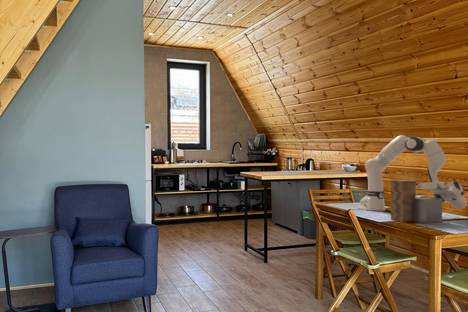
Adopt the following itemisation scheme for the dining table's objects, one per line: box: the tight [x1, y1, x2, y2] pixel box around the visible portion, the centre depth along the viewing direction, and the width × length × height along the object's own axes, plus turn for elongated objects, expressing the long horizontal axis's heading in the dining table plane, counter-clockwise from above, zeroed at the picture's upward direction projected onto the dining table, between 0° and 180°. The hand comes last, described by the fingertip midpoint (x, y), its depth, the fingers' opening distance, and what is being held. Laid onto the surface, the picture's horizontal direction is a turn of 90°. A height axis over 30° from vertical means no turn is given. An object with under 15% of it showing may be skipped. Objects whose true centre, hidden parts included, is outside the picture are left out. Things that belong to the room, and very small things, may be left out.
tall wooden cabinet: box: [389, 179, 417, 223], centre depth 286 cm, size 11×12×26 cm
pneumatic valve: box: [416, 194, 427, 198], centre depth 327 cm, size 6×12×12 cm, turn 9°
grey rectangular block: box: [417, 181, 445, 190], centre depth 280 cm, size 4×20×4 cm, turn 116°
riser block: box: [412, 196, 443, 225], centre depth 279 cm, size 10×14×15 cm
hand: (435, 184), depth 282 cm, fingers closed on grey rectangular block, 3 cm apart
